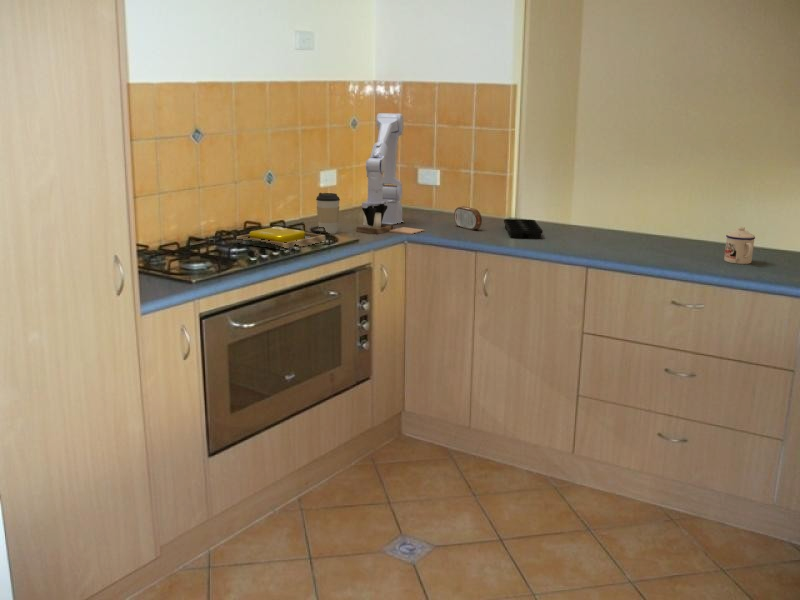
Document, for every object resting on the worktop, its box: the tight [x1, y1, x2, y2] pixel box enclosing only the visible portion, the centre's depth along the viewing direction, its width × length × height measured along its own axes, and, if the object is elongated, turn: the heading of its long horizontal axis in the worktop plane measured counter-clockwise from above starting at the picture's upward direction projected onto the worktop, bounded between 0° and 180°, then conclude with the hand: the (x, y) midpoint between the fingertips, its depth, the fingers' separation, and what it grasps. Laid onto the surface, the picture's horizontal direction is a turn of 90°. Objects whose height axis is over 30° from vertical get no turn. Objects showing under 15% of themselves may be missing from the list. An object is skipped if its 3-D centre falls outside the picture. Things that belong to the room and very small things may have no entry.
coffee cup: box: [315, 192, 341, 235], centre depth 327 cm, size 9×9×15 cm
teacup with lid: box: [723, 226, 756, 265], centre depth 287 cm, size 12×9×12 cm
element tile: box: [249, 226, 305, 243], centre depth 306 cm, size 15×15×5 cm
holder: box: [356, 224, 394, 235], centre depth 334 cm, size 11×9×2 cm
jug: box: [362, 212, 381, 229], centre depth 334 cm, size 8×5×7 cm, turn 57°
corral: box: [236, 231, 326, 248], centre depth 305 cm, size 22×22×2 cm
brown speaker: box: [453, 205, 483, 231], centre depth 344 cm, size 15×3×8 cm, turn 34°
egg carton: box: [503, 218, 544, 240], centre depth 338 cm, size 18×30×4 cm, turn 10°
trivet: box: [388, 226, 426, 236], centre depth 334 cm, size 10×10×1 cm
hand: (374, 224), depth 334 cm, fingers closed on jug, 5 cm apart
